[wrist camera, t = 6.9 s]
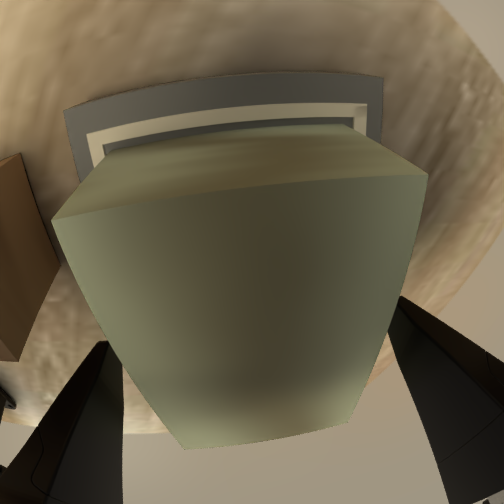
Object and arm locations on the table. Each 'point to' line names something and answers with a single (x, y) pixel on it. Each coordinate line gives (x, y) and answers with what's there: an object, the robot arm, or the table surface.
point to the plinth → (222, 109)
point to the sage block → (246, 273)
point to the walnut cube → (21, 259)
